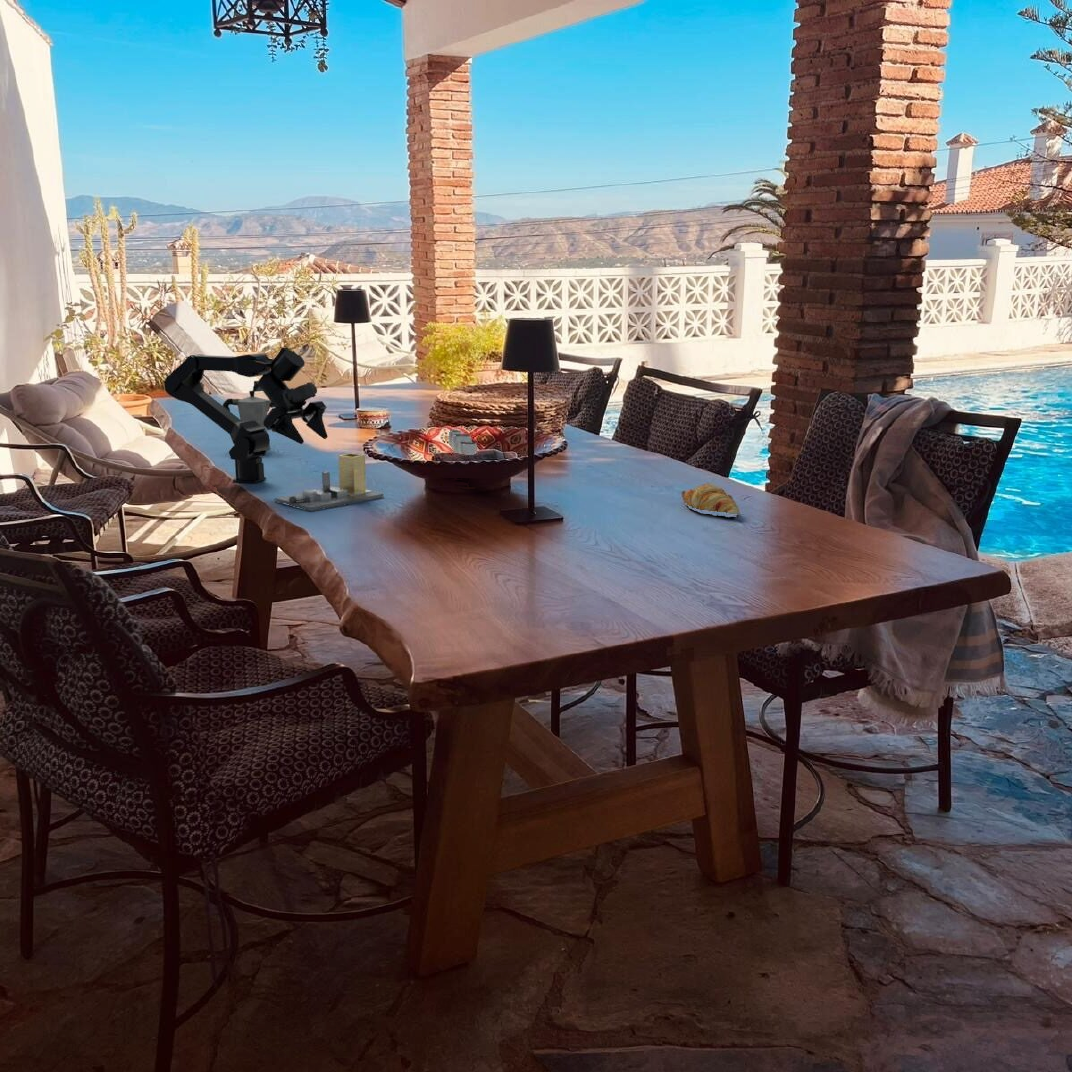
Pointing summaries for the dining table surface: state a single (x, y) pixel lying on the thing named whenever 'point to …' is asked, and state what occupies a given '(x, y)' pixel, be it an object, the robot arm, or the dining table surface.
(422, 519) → the dining table surface
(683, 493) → the croissant
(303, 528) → the dining table surface
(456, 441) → the goblet set
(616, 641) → the dining table surface
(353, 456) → the sleeve
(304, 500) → the grey base plate
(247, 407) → the coffeepot
